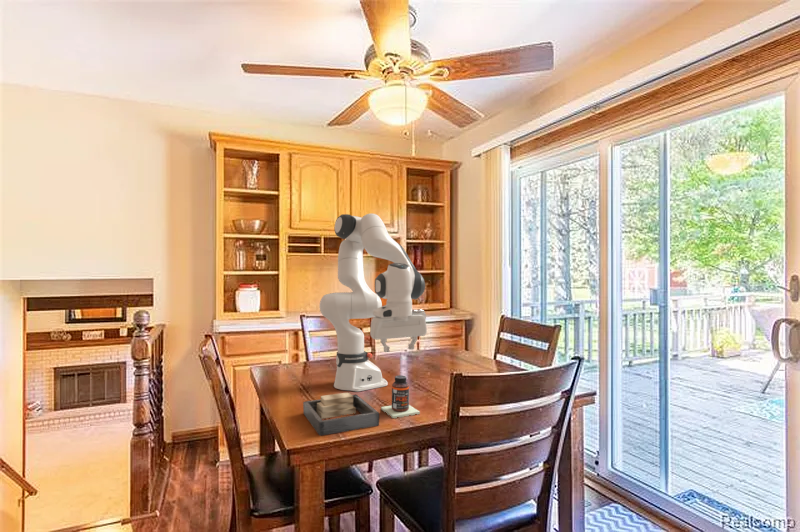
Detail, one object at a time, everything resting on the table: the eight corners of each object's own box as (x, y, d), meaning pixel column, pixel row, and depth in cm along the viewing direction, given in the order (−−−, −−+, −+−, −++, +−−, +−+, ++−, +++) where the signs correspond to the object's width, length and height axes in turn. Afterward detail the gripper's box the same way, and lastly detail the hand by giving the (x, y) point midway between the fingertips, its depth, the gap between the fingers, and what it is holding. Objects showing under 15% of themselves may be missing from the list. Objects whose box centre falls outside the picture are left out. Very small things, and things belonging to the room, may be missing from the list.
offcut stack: (349, 408, 151) (349, 391, 151) (355, 414, 145) (355, 396, 145) (316, 414, 145) (316, 396, 145) (321, 419, 140) (321, 401, 140)
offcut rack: (356, 405, 153) (356, 394, 153) (379, 425, 134) (379, 412, 134) (303, 413, 145) (303, 401, 145) (319, 435, 126) (319, 422, 126)
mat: (406, 405, 154) (406, 403, 154) (419, 414, 145) (419, 411, 145) (381, 409, 149) (381, 407, 149) (393, 418, 140) (393, 416, 140)
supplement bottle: (395, 413, 143) (395, 379, 143) (389, 407, 148) (389, 375, 148) (411, 411, 145) (411, 377, 145) (404, 405, 151) (404, 373, 151)
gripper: (421, 308, 154) (421, 346, 154) (368, 310, 145) (368, 351, 145) (430, 309, 148) (429, 349, 149) (375, 312, 140) (375, 354, 140)
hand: (399, 350), depth 147 cm, fingers open, 8 cm apart
